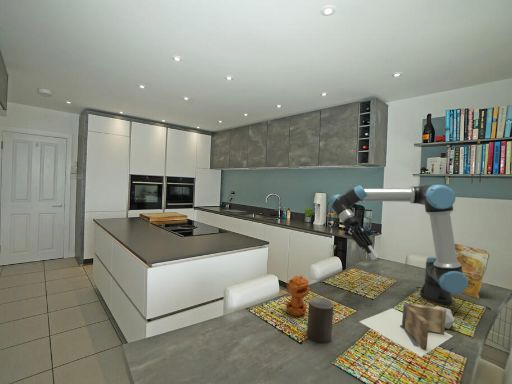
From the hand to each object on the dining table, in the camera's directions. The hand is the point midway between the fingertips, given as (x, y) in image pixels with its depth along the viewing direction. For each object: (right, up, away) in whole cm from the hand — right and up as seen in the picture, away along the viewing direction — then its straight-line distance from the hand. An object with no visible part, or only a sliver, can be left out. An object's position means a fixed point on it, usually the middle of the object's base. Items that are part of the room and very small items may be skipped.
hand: (375, 258), depth 127 cm
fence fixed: (+13, -27, -15) cm, 34 cm away
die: (+25, -28, -10) cm, 39 cm away
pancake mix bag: (+67, -28, +30) cm, 79 cm away
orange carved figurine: (-39, -24, -5) cm, 47 cm away
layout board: (+6, -27, -15) cm, 31 cm away
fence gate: (+6, -27, -22) cm, 35 cm away
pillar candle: (-33, -26, -22) cm, 47 cm away
